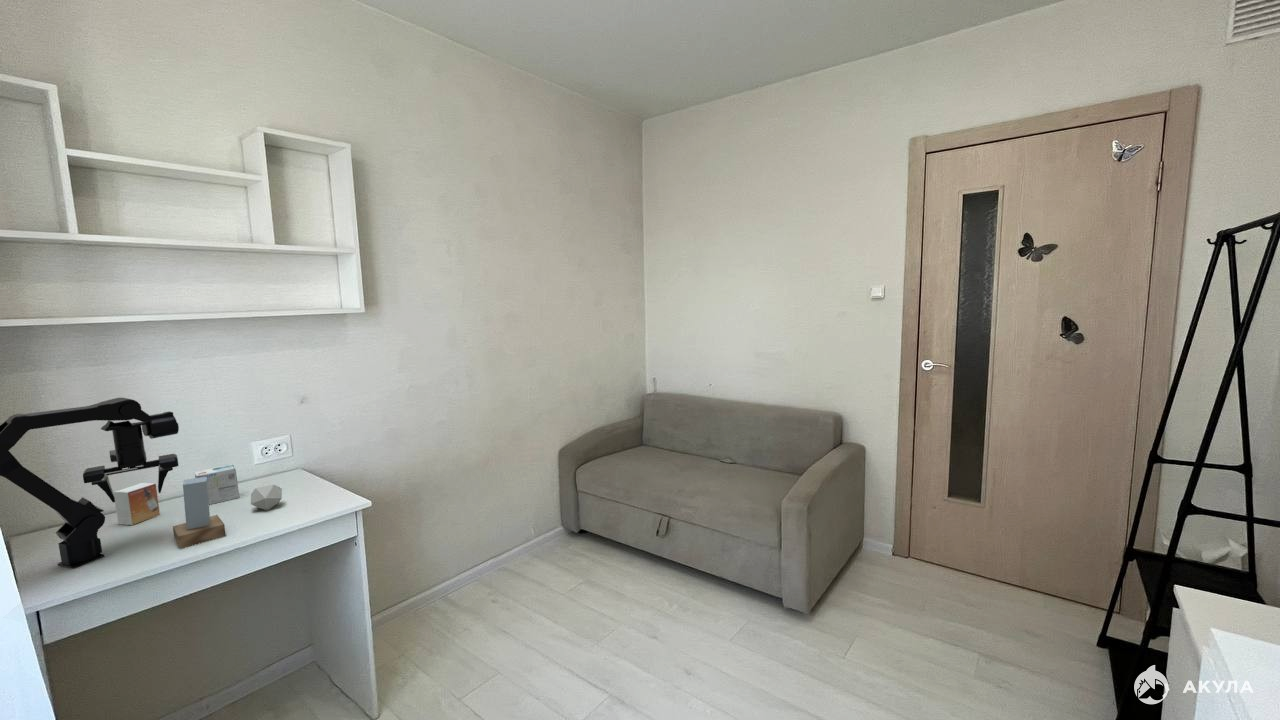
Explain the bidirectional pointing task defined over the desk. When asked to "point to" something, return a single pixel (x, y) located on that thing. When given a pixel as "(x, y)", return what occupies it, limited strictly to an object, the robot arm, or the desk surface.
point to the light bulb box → (220, 483)
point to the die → (266, 496)
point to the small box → (136, 503)
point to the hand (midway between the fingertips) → (137, 497)
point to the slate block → (196, 502)
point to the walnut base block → (199, 533)
